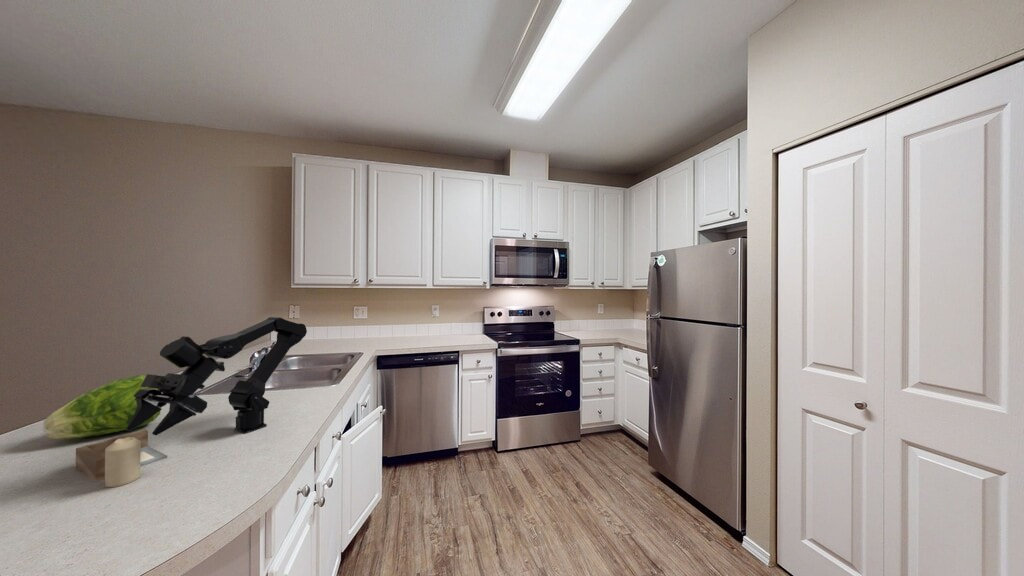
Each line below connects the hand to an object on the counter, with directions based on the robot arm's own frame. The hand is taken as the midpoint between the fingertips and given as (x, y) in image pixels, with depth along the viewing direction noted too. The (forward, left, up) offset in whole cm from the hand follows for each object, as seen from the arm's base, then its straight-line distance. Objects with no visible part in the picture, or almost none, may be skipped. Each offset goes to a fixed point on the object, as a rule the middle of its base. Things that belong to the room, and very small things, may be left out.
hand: (140, 432), depth 82 cm
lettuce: (-5, -40, -10) cm, 42 cm away
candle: (+3, +1, -10) cm, 11 cm away
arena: (0, -11, -10) cm, 15 cm away
